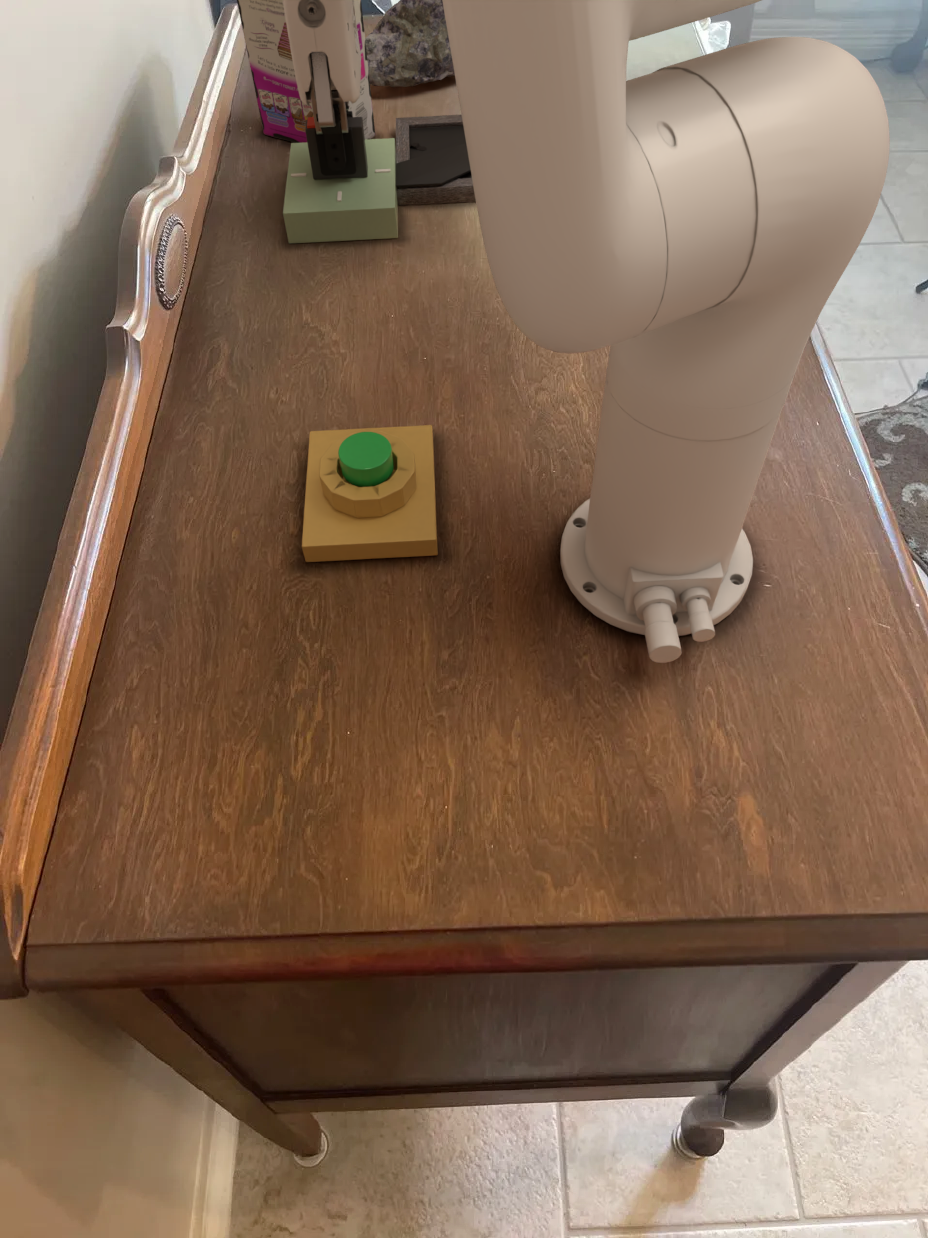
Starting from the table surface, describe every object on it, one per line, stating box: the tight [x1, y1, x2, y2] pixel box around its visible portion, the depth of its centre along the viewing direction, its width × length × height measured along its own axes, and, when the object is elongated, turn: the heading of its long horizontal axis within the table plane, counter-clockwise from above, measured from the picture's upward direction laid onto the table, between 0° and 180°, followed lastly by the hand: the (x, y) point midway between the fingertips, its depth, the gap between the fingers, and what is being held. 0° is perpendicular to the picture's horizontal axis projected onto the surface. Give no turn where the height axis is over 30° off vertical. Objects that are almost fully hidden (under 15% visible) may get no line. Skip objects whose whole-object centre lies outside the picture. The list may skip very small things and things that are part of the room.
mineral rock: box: [365, 0, 455, 88], centre depth 98 cm, size 13×11×10 cm
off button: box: [338, 432, 394, 487], centre depth 62 cm, size 4×4×2 cm
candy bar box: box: [236, 0, 376, 143], centre depth 88 cm, size 11×5×16 cm, turn 62°
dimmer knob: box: [305, 117, 368, 180], centre depth 83 cm, size 5×2×5 cm, turn 93°
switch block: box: [301, 424, 439, 563], centre depth 64 cm, size 11×9×4 cm
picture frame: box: [395, 114, 476, 206], centre depth 90 cm, size 13×2×18 cm
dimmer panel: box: [282, 137, 399, 244], centre depth 86 cm, size 12×10×3 cm
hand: (339, 163), depth 84 cm, fingers closed
